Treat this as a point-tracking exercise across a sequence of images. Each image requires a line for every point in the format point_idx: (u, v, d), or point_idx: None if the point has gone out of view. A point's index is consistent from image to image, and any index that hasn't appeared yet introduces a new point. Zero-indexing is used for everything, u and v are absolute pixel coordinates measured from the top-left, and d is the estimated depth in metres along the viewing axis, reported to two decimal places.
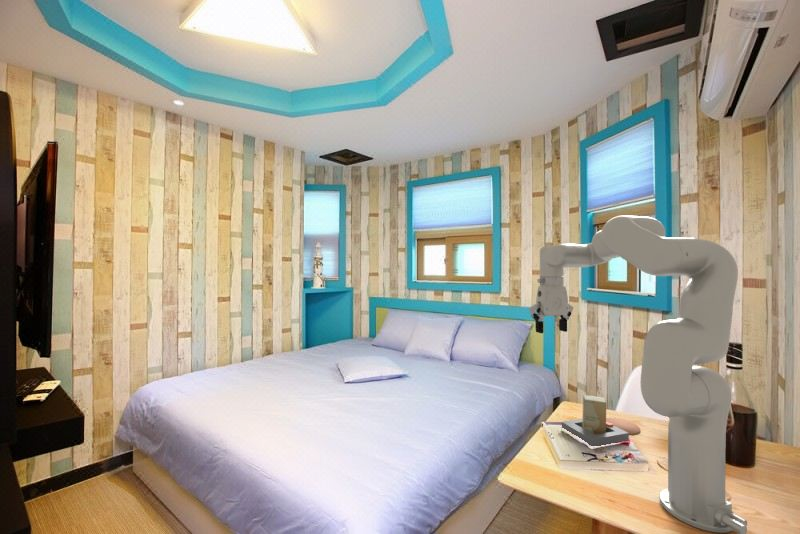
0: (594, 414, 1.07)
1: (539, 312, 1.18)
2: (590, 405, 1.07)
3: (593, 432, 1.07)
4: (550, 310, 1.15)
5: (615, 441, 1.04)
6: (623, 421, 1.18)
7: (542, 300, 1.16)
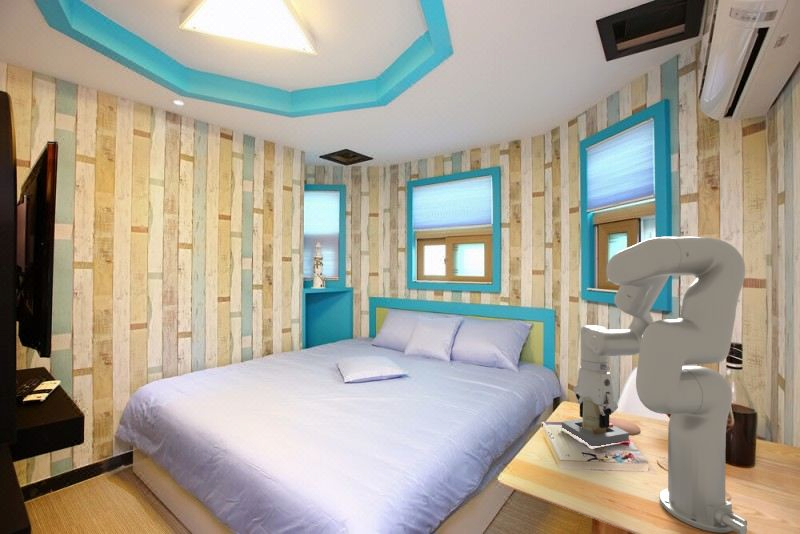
0: (594, 414, 1.07)
1: None
2: (590, 405, 1.07)
3: (593, 432, 1.07)
4: None
5: (615, 441, 1.04)
6: (623, 421, 1.18)
7: (611, 389, 1.05)
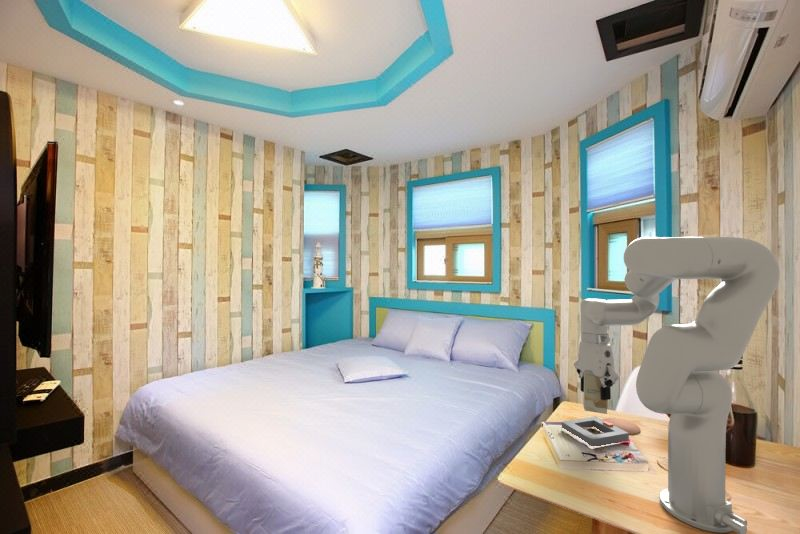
0: (596, 387, 1.06)
1: (604, 376, 1.04)
2: (591, 378, 1.07)
3: (594, 405, 1.06)
4: None
5: (615, 441, 1.04)
6: (623, 421, 1.18)
7: (612, 360, 1.04)
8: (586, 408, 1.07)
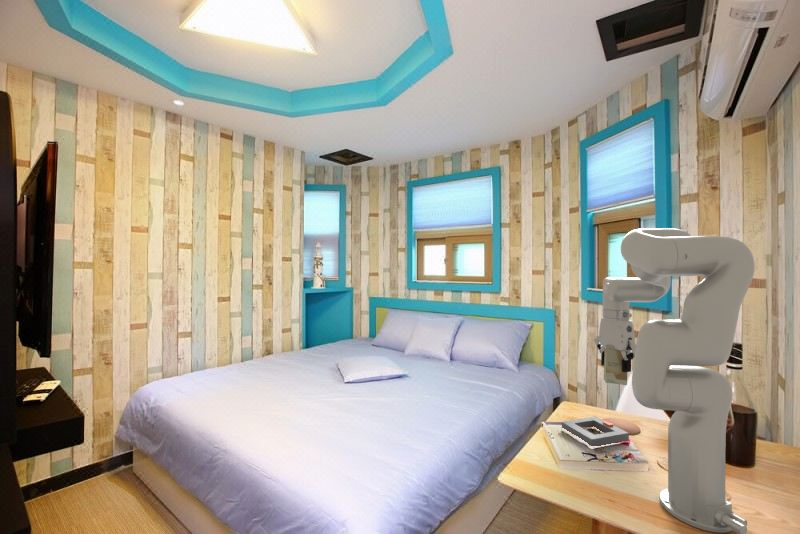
0: (617, 360, 1.12)
1: (625, 350, 1.11)
2: (612, 352, 1.13)
3: (615, 377, 1.13)
4: None
5: (615, 441, 1.04)
6: (623, 421, 1.18)
7: (633, 335, 1.10)
8: (607, 380, 1.14)
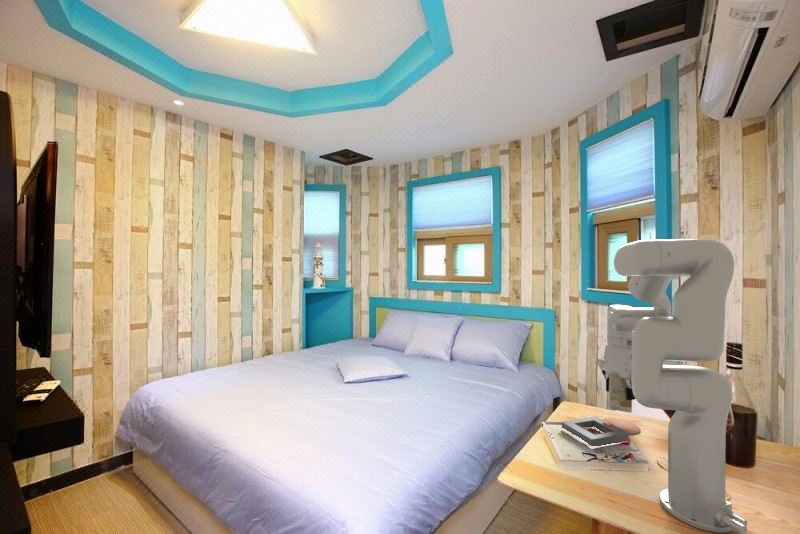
0: (621, 387, 1.14)
1: (630, 378, 1.12)
2: (617, 379, 1.14)
3: (620, 404, 1.14)
4: None
5: (615, 441, 1.04)
6: (623, 421, 1.18)
7: None
8: (612, 407, 1.15)
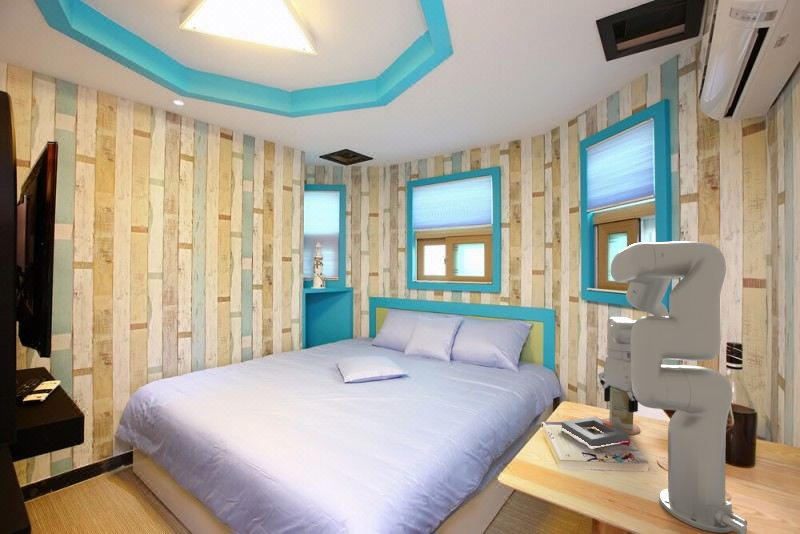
0: (622, 404, 1.13)
1: (631, 390, 1.11)
2: (618, 396, 1.14)
3: (621, 421, 1.13)
4: None
5: (615, 441, 1.04)
6: None
7: None
8: (613, 424, 1.14)
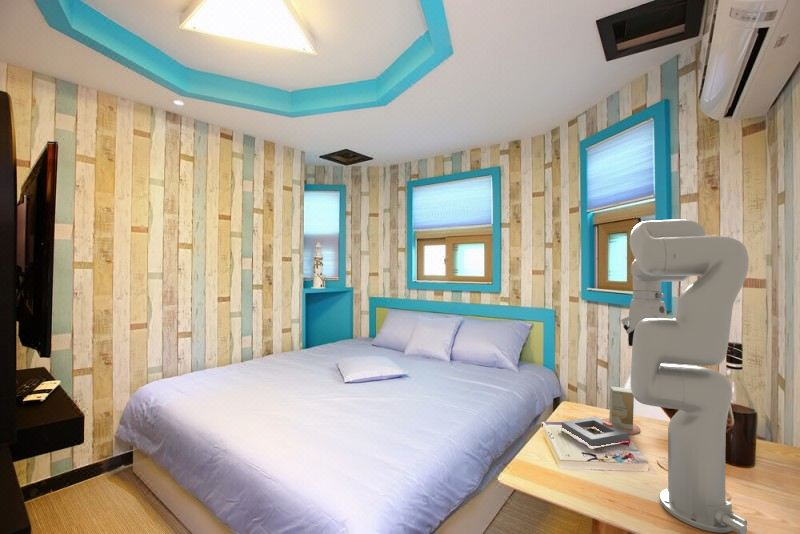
0: (622, 404, 1.13)
1: None
2: (618, 396, 1.14)
3: (621, 421, 1.13)
4: None
5: (615, 441, 1.04)
6: None
7: (665, 316, 1.09)
8: (613, 424, 1.14)
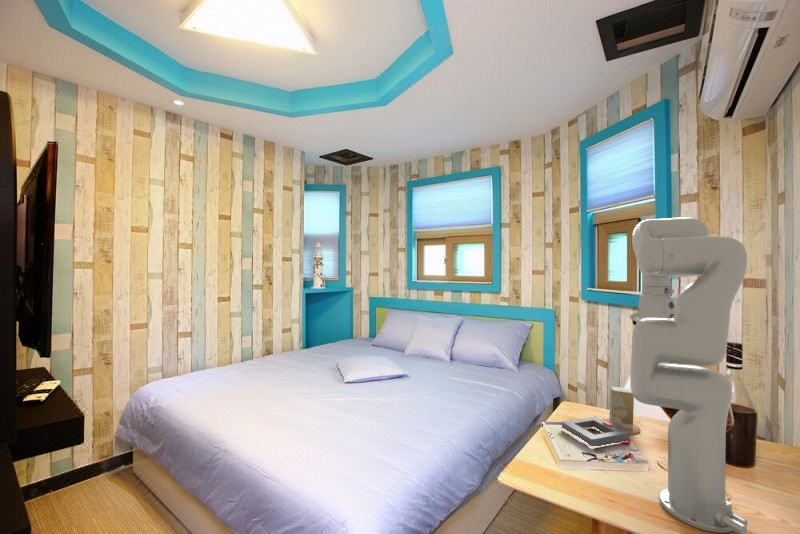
0: (622, 404, 1.13)
1: None
2: (618, 396, 1.14)
3: (621, 421, 1.13)
4: None
5: (615, 441, 1.04)
6: None
7: (675, 312, 1.08)
8: (613, 424, 1.14)
